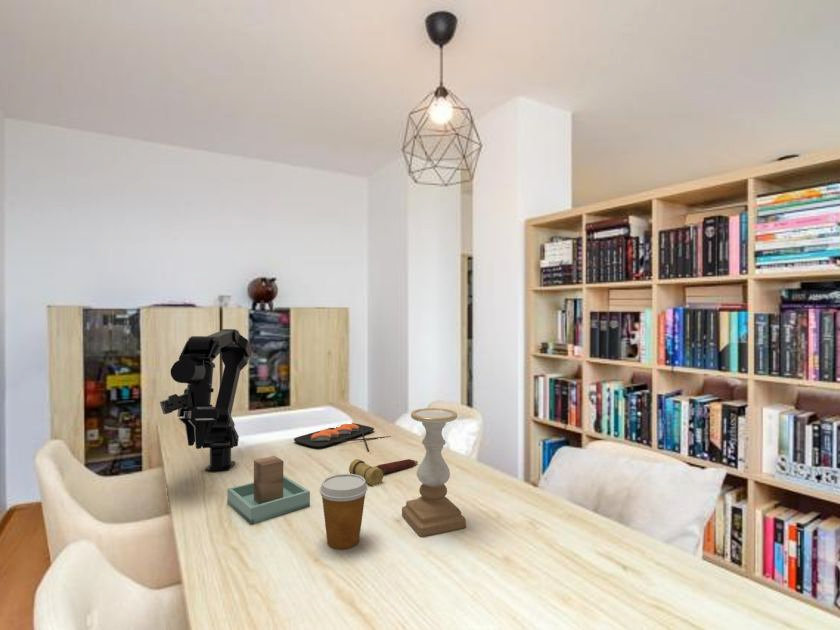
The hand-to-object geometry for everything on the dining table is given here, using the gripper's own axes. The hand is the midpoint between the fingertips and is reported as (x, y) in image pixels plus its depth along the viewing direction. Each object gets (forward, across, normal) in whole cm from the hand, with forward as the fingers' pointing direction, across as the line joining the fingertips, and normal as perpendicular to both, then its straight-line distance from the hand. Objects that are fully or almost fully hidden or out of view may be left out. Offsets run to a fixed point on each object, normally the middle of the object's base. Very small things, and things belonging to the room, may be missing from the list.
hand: (194, 447), depth 114 cm
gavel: (+9, +16, +48) cm, 52 cm away
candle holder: (+15, +46, +40) cm, 63 cm away
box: (+13, +17, +14) cm, 25 cm away
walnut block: (+12, +17, +14) cm, 25 cm away
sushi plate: (+3, -17, +54) cm, 57 cm away
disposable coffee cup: (+16, +42, +20) cm, 49 cm away
